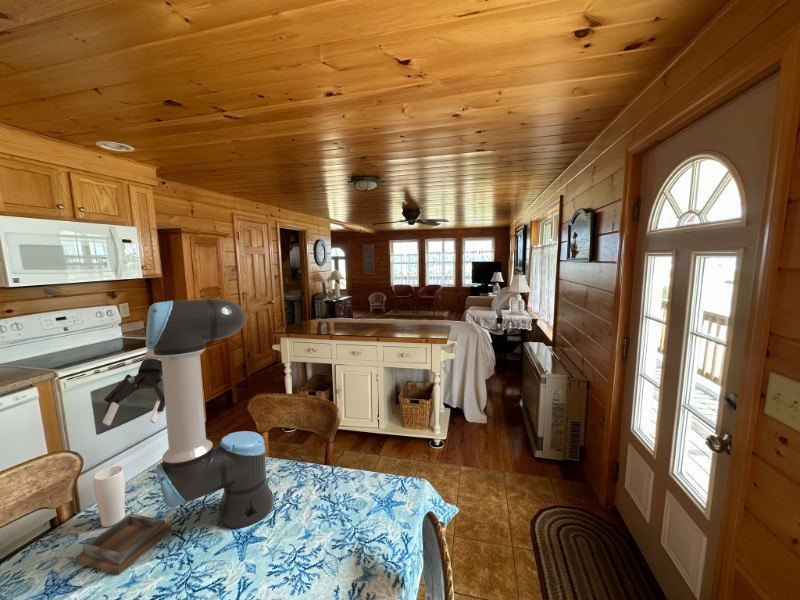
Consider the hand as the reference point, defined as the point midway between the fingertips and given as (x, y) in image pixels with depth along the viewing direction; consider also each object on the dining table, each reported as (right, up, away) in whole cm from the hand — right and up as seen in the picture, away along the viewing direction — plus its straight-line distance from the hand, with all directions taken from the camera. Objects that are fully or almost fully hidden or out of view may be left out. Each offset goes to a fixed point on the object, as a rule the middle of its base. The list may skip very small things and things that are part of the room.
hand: (129, 423), depth 106 cm
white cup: (+2, -26, -8) cm, 27 cm away
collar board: (+13, -26, -17) cm, 34 cm away
